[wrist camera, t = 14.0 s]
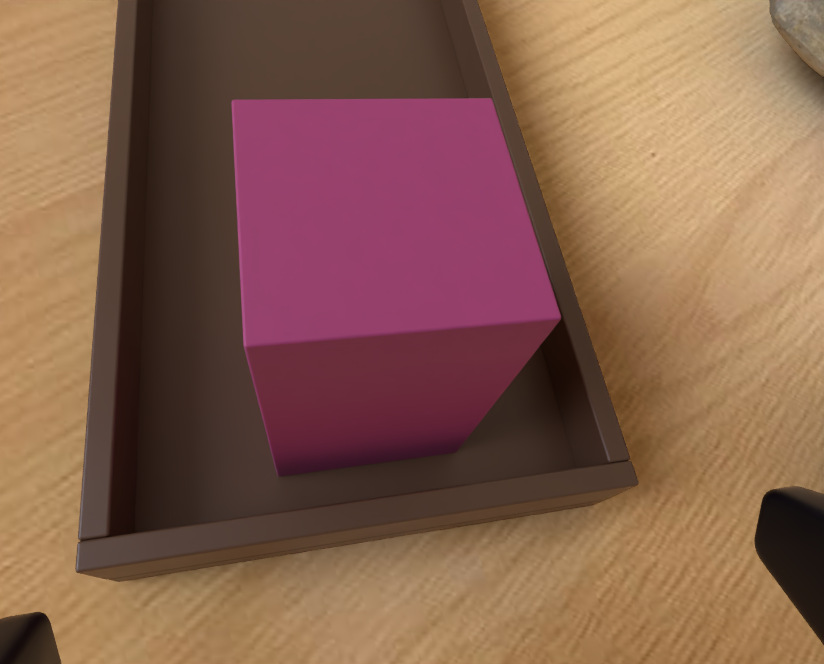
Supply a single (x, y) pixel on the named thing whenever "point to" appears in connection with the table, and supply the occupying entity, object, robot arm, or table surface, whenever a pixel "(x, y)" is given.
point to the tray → (222, 311)
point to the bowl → (802, 28)
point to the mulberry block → (381, 274)
